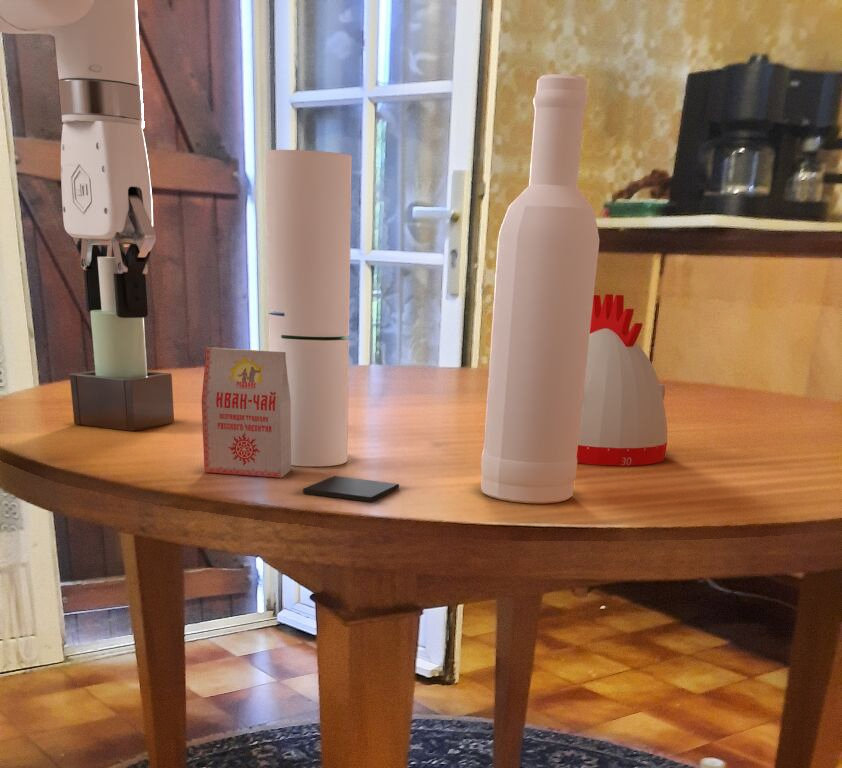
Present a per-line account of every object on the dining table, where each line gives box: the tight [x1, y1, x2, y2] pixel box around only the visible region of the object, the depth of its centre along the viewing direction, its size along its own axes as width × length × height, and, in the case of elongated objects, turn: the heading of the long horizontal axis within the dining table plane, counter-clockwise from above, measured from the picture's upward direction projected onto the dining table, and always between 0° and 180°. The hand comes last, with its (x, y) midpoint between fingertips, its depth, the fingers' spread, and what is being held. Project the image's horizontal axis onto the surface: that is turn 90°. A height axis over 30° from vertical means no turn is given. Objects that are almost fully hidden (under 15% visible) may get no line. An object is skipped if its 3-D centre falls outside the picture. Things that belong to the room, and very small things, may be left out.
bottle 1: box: [89, 256, 148, 379], centre depth 110 cm, size 5×5×16 cm
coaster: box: [302, 475, 400, 503], centre depth 88 cm, size 6×6×1 cm
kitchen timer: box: [577, 293, 668, 467], centre depth 107 cm, size 14×14×15 cm
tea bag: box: [201, 346, 292, 479], centre depth 91 cm, size 4×7×10 cm, turn 83°
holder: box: [69, 369, 175, 432], centre depth 112 cm, size 7×7×5 cm
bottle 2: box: [480, 73, 600, 504], centre depth 84 cm, size 8×8×30 cm
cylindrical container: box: [265, 149, 353, 468], centre depth 94 cm, size 7×7×25 cm
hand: (117, 312), depth 108 cm, fingers closed on bottle 1, 5 cm apart
